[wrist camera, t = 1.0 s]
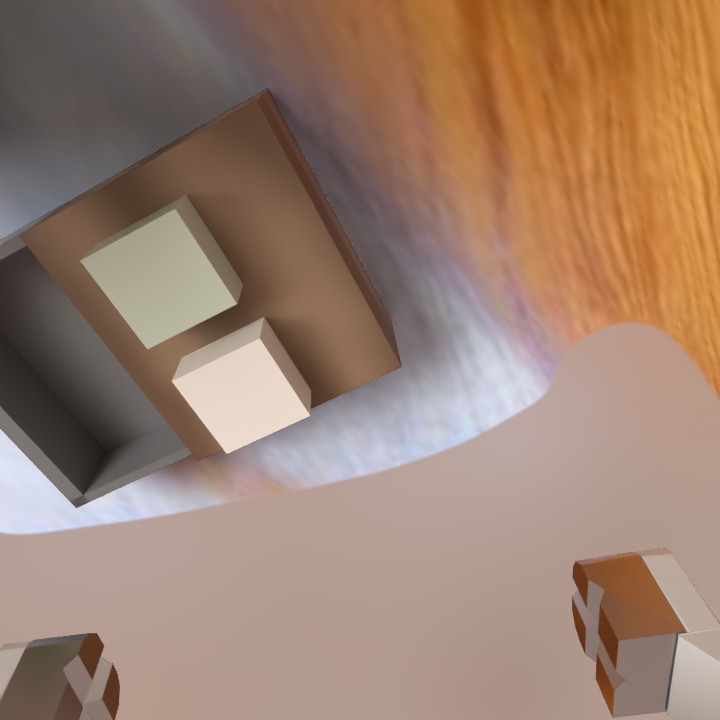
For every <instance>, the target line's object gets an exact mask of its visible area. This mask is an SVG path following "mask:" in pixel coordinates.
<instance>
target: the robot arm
mask: <svg viewBox="0 0 720 720" xmlns="http://www.w3.org/2000/svg"><path fill="white" fill-rule="evenodd" d="M573 579H574V582H575V584H576V586H577V588H578V590H577V591H576V592H575V594H574V595H573V596H572V611H573V617H574V623H575V628H576V631H577V634H578V637H579V640H580V643H581V645H582V648H583V650H584V653H585V654H586V655H587V656H588V657H590V658H591V659H592V660H594V661H595V662H596V681H597V683H598V685H599V688H600V690H601V692H602V695H603V697H604V699H605V701H606V704H607V706H608V708H609V711H610V713H611V715H612V717H613V718H614V717H623V716H632V715H640V714H649V713H657V712H667V715H668V716H669V717H670V718H671V719H672V720H720V623H719V621H718V620H717V618H716V617H715V615H714V614H713V612H712V611H711V609H710V608H709V606H708V605H707V604H706V602H705V600H704V599H703V598H702V596H701V595H700V593H699V592H698V590H697V589H696V587H695V586H694V584H693V583H692V581H691V580H690V578H689V577H688V576H687V574H686V573H685V571H684V570H683V568H682V567H681V565H680V564H679V562H678V561H677V560H676V558H675V557H674V555H673V554H672V552H671V551H670V550H668V549H667V548H665V547H664V548H658V549H652V550H645V551H638V552H634V553H633V552H629V553H623V554H617V555H610V556H604V557H598V558H592V559H585V560H579V561H575V563H574V565H573ZM103 648H104V645H103V643H102V641H101V640H100V638H99V636H98V634H97V633H87V634H79V635H71V636H63V637H54V638H45V639H37V640H31V641H24V642H16V643H8V644H4V645H3V646H2V647H1V648H0V720H115V717H116V714H117V710H118V706H119V694H120V684H119V679H118V674H117V671H116V669H115V667H114V665H113V663H111V662H109V661H107V660H106V659H104V658H102V657H101V654H102V651H103Z"/></svg>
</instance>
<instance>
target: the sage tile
mask: <svg viewBox="0 0 720 720" xmlns="http://www.w3.org/2000/svg"><path fill="white" fill-rule="evenodd" d="M80 261H81V263H82V264H83V265H84V267H85V268H86V269H87V271H88V272H89V273H90V275H91V276H92V277H93V279H94V280H95V281H96V282H97V284H98V285H99V286H100V288H101V289H102V290H103V292H104V293H105V294H106V296H107V297H108V298H109V300H110V301H111V302H112V304H113V305H114V306H115V307H116V309H117V310H118V311H119V313H120V314H121V315H122V317H123V318H124V319H125V321H126V322H127V323H128V325H129V326H130V327H131V329H132V330H133V331H134V332H135V334H136V335H137V336H138V338H139V339H140V340H141V342H142V343H143V344H144V346H145V347H146V348H147V349H149V348H151V347H153V346H155V345H157V344H159V343H161V342H163V341H165V340H167V339H169V338H171V337H173V336H175V335H177V334H179V333H181V332H183V331H185V330H187V329H189V328H191V327H193V326H195V325H197V324H199V323H201V322H203V321H205V320H207V319H209V318H211V317H213V316H215V315H217V314H219V313H221V312H223V311H224V310H226V309H228V308H230V307H232V306H234V305H236V304H237V303H238V300H239V297H240V294H241V291H242V287H243V283H242V281H241V280H240V278H239V277H238V275H237V274H236V272H235V270H234V269H233V267H232V266H231V264H230V263H229V261H228V260H227V258H226V256H225V255H224V253H223V252H222V250H221V249H220V247H219V245H218V244H217V242H216V241H215V239H214V238H213V236H212V234H211V233H210V231H209V230H208V228H207V227H206V225H205V223H204V222H203V220H202V219H201V217H200V216H199V214H198V213H197V211H196V209H195V208H194V206H193V205H192V203H191V202H190V200H189V198H188V197H187V195H185V196H183V197H182V198H180V199H178V200H176V201H174V202H172V203H171V204H169V205H167V206H165V207H163V208H161V209H160V210H158V211H156V212H154V213H152V214H151V215H149V216H147V217H145V218H143V219H141V220H140V221H138V222H136V223H134V224H132V225H130V226H129V227H127V228H125V229H123V230H121V231H120V232H118V233H116V234H114V235H112V236H110V237H109V238H107V239H105V240H103V241H101V242H99V243H98V244H97V245H96V246H95V247H94V248H93V249H92V250H91V251H89V252H88V253H87V254H86V255H85V256H84V257H83V258H82V259H81V260H80Z"/></svg>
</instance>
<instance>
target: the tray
mask: <svg viewBox="0 0 720 720" xmlns="http://www.w3.org/2000/svg"><path fill="white" fill-rule="evenodd" d="M63 205H64V204H63ZM60 207H61V206H60ZM58 208H59V207H58ZM58 208H56V209H58ZM56 209H54V210H53V211H51V212H49V213H47V214H46V215H44V216H42V217H40V218H39V219H37V220H35V221H33V222H32V223H30V224H28V225H26V226H25V227H23V228H21V229H19V230H18V231H16V232H14V233H12V234H10V235H9V236H7V237H5V238H3V239H2V240H0V429H1V430H2V431H3V432H4V433H5V434H6V435H7V436H8V437H9V438H10V439H11V440H12V441H13V442H14V443H15V445H16V446H17V447H18V448H19V449H20V450H21V451H22V452H23V453H24V454H25V455H26V456H27V457H28V458H29V459H30V460H31V461H32V462H33V463H34V464H35V465H36V466H37V468H38V469H39V470H40V471H41V472H42V473H43V474H44V475H45V476H46V477H47V478H48V479H49V480H50V481H51V482H52V483H53V484H54V485H55V486H56V487H57V488H58V489H59V491H60V492H61V493H62V494H63V495H64V496H65V497H66V498H67V499H68V500H69V501H70V502H71V503H72V504H73V505H74V506H75V507H76V508H77V507H80V506H82V505H84V504H86V503H88V502H90V501H93V500H95V499H97V498H99V497H101V496H103V495H106V494H108V493H110V492H112V491H114V490H116V489H118V488H121V487H123V486H125V485H127V484H129V483H131V482H134V481H136V480H138V479H140V478H142V477H144V476H146V475H149V474H151V473H153V472H155V471H157V470H159V469H162V468H164V467H166V466H168V465H170V464H172V463H175V462H177V461H179V460H181V459H183V458H185V457H187V456H190V455H192V453H191V452H190V451H189V449H188V448H187V447H186V446H185V444H184V443H183V442H182V440H181V439H180V438H179V437H178V435H177V434H176V433H175V432H174V430H173V429H172V428H171V427H170V425H169V424H168V423H167V422H166V420H165V419H164V418H163V417H162V415H161V414H160V413H159V411H158V410H157V409H156V408H155V406H154V405H153V404H152V403H151V401H150V400H149V399H148V398H147V396H146V395H145V394H144V393H143V391H142V390H141V389H140V388H139V386H138V385H137V384H136V383H135V381H134V380H133V379H132V377H131V376H130V375H129V374H128V372H127V371H126V370H125V369H124V367H123V366H122V365H121V364H120V362H119V361H118V360H117V359H116V357H115V356H114V355H113V354H112V352H111V351H110V350H109V348H108V347H107V346H106V345H105V343H104V342H103V341H102V340H101V338H100V337H99V336H98V335H97V333H96V332H95V331H94V330H93V328H92V327H91V326H90V325H89V323H88V322H87V321H86V319H85V318H84V317H83V316H82V314H81V313H80V312H79V311H78V309H77V308H76V307H75V306H74V304H73V303H72V302H71V301H70V299H69V298H68V297H67V296H66V294H65V293H64V292H63V291H62V289H61V288H60V287H59V285H58V284H57V283H56V282H55V280H54V279H53V278H52V277H51V275H50V274H49V273H48V272H47V270H46V269H45V268H44V267H43V265H42V264H41V263H40V262H39V260H38V259H37V258H36V256H35V255H34V254H33V253H32V251H31V250H30V249H29V248H28V246H27V245H26V244H25V243H24V241H23V240H22V239H21V238H20V236H19V235H20V234H22V233H23V232H25V231H26V230H28V229H29V228H31V227H32V226H33V225H35V224H36V223H38V222H39V221H41V220H42V219H43V218H45V217H46V216H48V215H49V214H51V213H52V212H54V211H55V210H56Z"/></svg>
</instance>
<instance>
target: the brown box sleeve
mask: <svg viewBox="0 0 720 720" xmlns="http://www.w3.org/2000/svg"><path fill="white" fill-rule="evenodd" d="M185 195H187V197H188V198H189V200H190V202H191V203H192V205H193V206H194V208H195V209H196V211H197V213H198V214H199V216H200V217H201V219H202V220H203V222H204V223H205V225H206V227H207V228H208V230H209V231H210V233H211V234H212V236H213V238H214V239H215V241H216V242H217V244H218V245H219V247H220V249H221V250H222V252H223V253H224V255H225V256H226V258H227V260H228V261H229V263H230V264H231V266H232V267H233V269H234V270H235V272H236V274H237V275H238V277H239V278H240V280H241V281H242V283H243V287H242V291H241V294H240V297H239V300H238V303H237V304H236V305H234V306H232V307H230V308H228V309H226V310H224V311H223V312H221V313H219V314H217V315H215V316H213V317H211V318H209V319H207V320H205V321H203V322H201V323H199V324H197V325H195V326H193V327H191V328H189V329H187V330H185V331H183V332H181V333H179V334H177V335H175V336H173V337H171V338H169V339H167V340H165V341H163V342H161V343H159V344H157V345H155V346H153V347H151V348H149V349H147V348H146V347H145V346H144V344H143V343H142V342H141V340H140V339H139V338H138V336H137V335H136V334H135V332H134V331H133V330H132V329H131V327H130V326H129V325H128V323H127V322H126V321H125V319H124V318H123V317H122V315H121V314H120V313H119V311H118V310H117V309H116V307H115V306H114V305H113V304H112V302H111V301H110V300H109V298H108V297H107V296H106V294H105V293H104V292H103V290H102V289H101V288H100V286H99V285H98V284H97V282H96V281H95V280H94V279H93V277H92V276H91V275H90V273H89V272H88V271H87V269H86V268H85V267H84V265H83V264H82V263H81V261H80V260H81V259H82V258H83V257H84V256H85V255H86V254H87V253H88V252H89V251H91V250H92V249H93V248H94V247H95V246H96V245H97V244H98V243H99V242H101V241H103V240H105V239H107V238H109V237H110V236H112V235H114V234H116V233H118V232H120V231H121V230H123V229H125V228H127V227H129V226H130V225H132V224H134V223H136V222H138V221H140V220H141V219H143V218H145V217H147V216H149V215H151V214H152V213H154V212H156V211H158V210H160V209H161V208H163V207H165V206H167V205H169V204H171V203H172V202H174V201H176V200H178V199H180V198H182V197H183V196H185ZM19 236H20V238H21V239H22V240H23V241H24V243H25V244H26V245H27V246H28V248H29V249H30V250H31V251H32V253H33V254H34V255H35V256H36V258H37V259H38V260H39V262H40V263H41V264H42V265H43V267H44V268H45V269H46V270H47V272H48V273H49V274H50V275H51V277H52V278H53V279H54V280H55V282H56V283H57V284H58V285H59V287H60V288H61V289H62V291H63V292H64V293H65V294H66V296H67V297H68V298H69V299H70V301H71V302H72V303H73V304H74V306H75V307H76V308H77V309H78V311H79V312H80V313H81V314H82V316H83V317H84V318H85V319H86V321H87V322H88V323H89V325H90V326H91V327H92V328H93V330H94V331H95V332H96V333H97V335H98V336H99V337H100V338H101V340H102V341H103V342H104V343H105V345H106V346H107V347H108V348H109V350H110V351H111V352H112V354H113V355H114V356H115V357H116V359H117V360H118V361H119V362H120V364H121V365H122V366H123V367H124V369H125V370H126V371H127V372H128V374H129V375H130V376H131V377H132V379H133V380H134V381H135V383H136V384H137V385H138V386H139V388H140V389H141V390H142V391H143V393H144V394H145V395H146V396H147V398H148V399H149V400H150V401H151V403H152V404H153V405H154V406H155V408H156V409H157V410H158V411H159V413H160V414H161V415H162V417H163V418H164V419H165V420H166V422H167V423H168V424H169V425H170V427H171V428H172V429H173V430H174V432H175V433H176V434H177V435H178V437H179V438H180V439H181V440H182V442H183V443H184V444H185V446H186V447H187V448H188V449H189V451H190V452H191V453H192V454H193V456H194V457H195V458H196V459H197V461H198V460H200V459H202V458H205V457H207V456H209V455H211V454H213V453H216V452H218V451H220V450H222V449H223V448H222V447H221V446H220V444H219V443H218V442H217V440H216V439H215V438H214V436H213V435H212V434H211V432H210V431H209V430H208V429H207V427H206V426H205V425H204V423H203V422H202V421H201V419H200V418H199V417H198V415H197V414H196V413H195V411H194V410H193V409H192V407H191V406H190V405H189V404H188V402H187V401H186V400H185V398H184V397H183V396H182V394H181V393H180V392H179V390H178V389H177V388H176V386H175V385H174V384H173V382H172V379H173V377H174V375H175V372H176V370H177V368H178V365H179V363H180V361H181V358H182V357H184V356H186V355H188V354H190V353H192V352H194V351H196V350H198V349H200V348H202V347H204V346H206V345H208V344H210V343H212V342H214V341H216V340H218V339H220V338H222V337H224V336H226V335H229V334H231V333H233V332H235V331H237V330H239V329H241V328H243V327H245V326H247V325H249V324H251V323H253V322H255V321H257V320H259V319H261V318H263V317H265V319H266V321H267V322H268V324H269V325H270V327H271V328H272V330H273V332H274V333H275V335H276V336H277V338H278V339H279V341H280V342H281V344H282V346H283V347H284V349H285V350H286V352H287V353H288V355H289V357H290V358H291V360H292V361H293V363H294V364H295V366H296V368H297V369H298V371H299V372H300V374H301V375H302V377H303V378H304V380H305V382H306V383H307V385H308V386H309V388H310V389H311V408H313V407H315V406H318V405H320V404H322V403H324V402H326V401H328V400H331V399H333V398H335V397H337V396H339V395H341V394H344V393H346V392H348V391H350V390H352V389H354V388H357V387H359V386H361V385H363V384H365V383H367V382H370V381H372V380H374V379H376V378H378V377H380V376H383V375H385V374H387V373H389V372H391V371H394V370H396V369H398V368H400V367H402V366H401V362H400V357H399V353H398V348H397V344H396V340H395V335H394V331H393V326H392V322H391V319H390V317H389V315H388V314H387V312H386V310H385V308H384V306H383V304H382V302H381V300H380V299H379V297H378V295H377V293H376V291H375V289H374V287H373V285H372V283H371V282H370V280H369V278H368V276H367V274H366V272H365V270H364V268H363V267H362V265H361V263H360V261H359V259H358V257H357V255H356V253H355V251H354V250H353V248H352V246H351V244H350V242H349V240H348V238H347V236H346V235H345V233H344V231H343V229H342V227H341V225H340V223H339V221H338V220H337V218H336V216H335V214H334V212H333V210H332V208H331V206H330V204H329V203H328V201H327V199H326V197H325V195H324V193H323V191H322V189H321V188H320V186H319V184H318V182H317V180H316V178H315V176H314V174H313V172H312V171H311V169H310V167H309V165H308V163H307V161H306V159H305V157H304V156H303V154H302V152H301V150H300V148H299V146H298V144H297V142H296V140H295V139H294V137H293V135H292V133H291V131H290V129H289V127H288V125H287V124H286V122H285V120H284V118H283V116H282V114H281V112H280V110H279V109H278V107H277V105H276V103H275V101H274V99H273V97H272V95H271V93H270V92H269V90H268V89H266V90H264V91H262V92H261V93H259V94H257V95H255V96H254V97H252V98H250V99H248V100H246V101H245V102H243V103H241V104H239V105H238V106H236V107H234V108H232V109H231V110H229V111H227V112H225V113H224V114H222V115H220V116H218V117H217V118H215V119H213V120H211V121H210V122H208V123H206V124H204V125H202V126H201V127H199V128H197V129H195V130H194V131H192V132H190V133H188V134H187V135H185V136H183V137H181V138H180V139H178V140H176V141H174V142H173V143H171V144H169V145H167V146H165V147H164V148H162V149H160V150H158V151H157V152H155V153H153V154H151V155H150V156H148V157H146V158H144V159H143V160H141V161H139V162H137V163H136V164H134V165H132V166H130V167H128V168H127V169H125V170H123V171H121V172H120V173H118V174H116V175H114V176H113V177H111V178H109V179H107V180H106V181H104V182H102V183H100V184H99V185H97V186H95V187H93V188H91V189H90V190H88V191H86V192H84V193H83V194H81V195H79V196H77V197H76V198H74V199H72V200H70V201H69V202H67V203H65V204H64V205H62V206H61V207H59V208H58V209H56V210H55V211H54V212H52V213H51V214H49V215H48V216H46V217H45V218H43V219H42V220H41V221H39V222H38V223H36V224H35V225H33V226H32V227H31V228H29V229H28V230H26V231H25V232H23V233H22V234H20V235H19Z"/></svg>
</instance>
